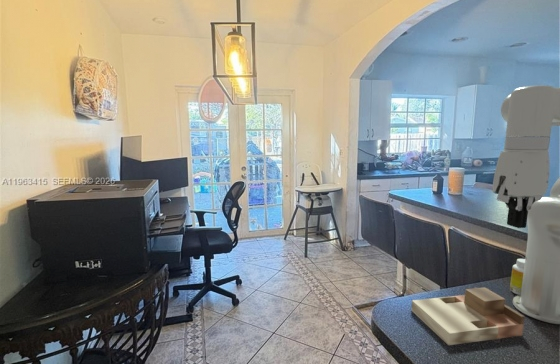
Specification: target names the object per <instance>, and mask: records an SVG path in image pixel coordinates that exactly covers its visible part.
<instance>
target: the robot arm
mask: <svg viewBox="0 0 560 364" xmlns="http://www.w3.org/2000/svg"><path fill="white" fill-rule="evenodd" d="M500 114H501V118H503V120H504V121H505V122H506V128H505V129H506V131H505V137H504V138H505V140H504V148H503V151H500V154H499V155H498V159H497V161H496V162H497V163H496V166H495V170H494V174H493V180H492V181H493V182H492V192H493V194H496V195H497V197H496V200H497V202H498V201H499V202H502V203H504V204H505V205H506V209H508V210H507V218H506V225H507V226H511V227H512V228H513V227H514V228H517V229H524V228H525V229H526V228H527V241H526V242H527V243H526V251H525V257H524V259H525V266H524V273H523V281H522V289H521V295H515V296H514V297H513V298H512V304H513V306H514V307H515V308H516V310H518V312H521V314H523V315H526V316H528V317H531V318H533V319H535V320H538V321H542V322H545V323H548V324H554V325H560V176H559V177H558V178H557V180H556V181H555V182H554V183H553V185H552V186H551V189H550V191H549V196H544V195H546V194H547V191H548V186H549V180H550V152H549V150H550V140H551V133H552V127H553V126H554V127H560V86H559V87H554V86H552V85H548V84H547V85H545V84H544V85H542V84H541V85H540V84H539V85H528V86H522V87H517V88H514V90H513V91H511V93H510V94H509V95H507V96H506V97H505V98H504V100H503V101H502V103H501V106H500Z"/></svg>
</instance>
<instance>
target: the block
mask: <svg viewBox="0 0 560 364" xmlns="http://www.w3.org/2000/svg"><path fill="white" fill-rule="evenodd" d="M464 295H465V299H464V303H465V304H466V305H467V306H469V307H470V308H472V309H473V310H475V311H476V312H478V313H479V314H480V315H482V316H490V315H498V314H504V306H505V305H506V298H504V296H503V297H502V296H501V295H499V294H497V293H496V292H494V291H492V290H491V289H489V288H487V287H477V288H474V287H473V288H466V289H465V291H464Z"/></svg>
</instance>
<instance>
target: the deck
mask: <svg viewBox="0 0 560 364" xmlns="http://www.w3.org/2000/svg"><path fill="white" fill-rule="evenodd" d="M473 288H478V287H477V286H474V287H473ZM464 299H465V294H459V295H452V296H442V297H433V298H431V297H430V298H423V299H422V298H421V299H413V300H411V311H412V313H414V315H416V316H417V317H418V318H419V319H420V320H421V322H423V323H424V324H425V325H426V326H427V327H428V328H429V329H430V330H431V331H433V332H434V333H435V334H436V335H437V337H439V338H440V339H441V340H442V341H443V342H444V343H446V344H447V346H454V345H462V344H468V343H469V344H470V343H477V342H483V341H491V340H492V341H493V340H499V339H506V338H513V337H520V336H523V334H524V333H523V331H524V325H525V314H523V313H520V311H517V310H515V309H514V308H512V307H510V306H509V305H507V304H505V306H504V314H498V315H490V316H482V315H480V314H479V313H478V312H476V311H475V310H473V309H472V308H470V307H469V306H467V305H466V304H465V303H464Z"/></svg>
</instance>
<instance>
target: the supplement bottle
mask: <svg viewBox="0 0 560 364" xmlns="http://www.w3.org/2000/svg"><path fill="white" fill-rule="evenodd" d="M524 266H525V258H517V259H516V263H515V264H513V265H512V268H511V269H512V270H511V277H510V285H509V290H510V291H511V292H512V293H513V294H516V295H517V296H519V295H521V289H522V281H523V273H524Z"/></svg>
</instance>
